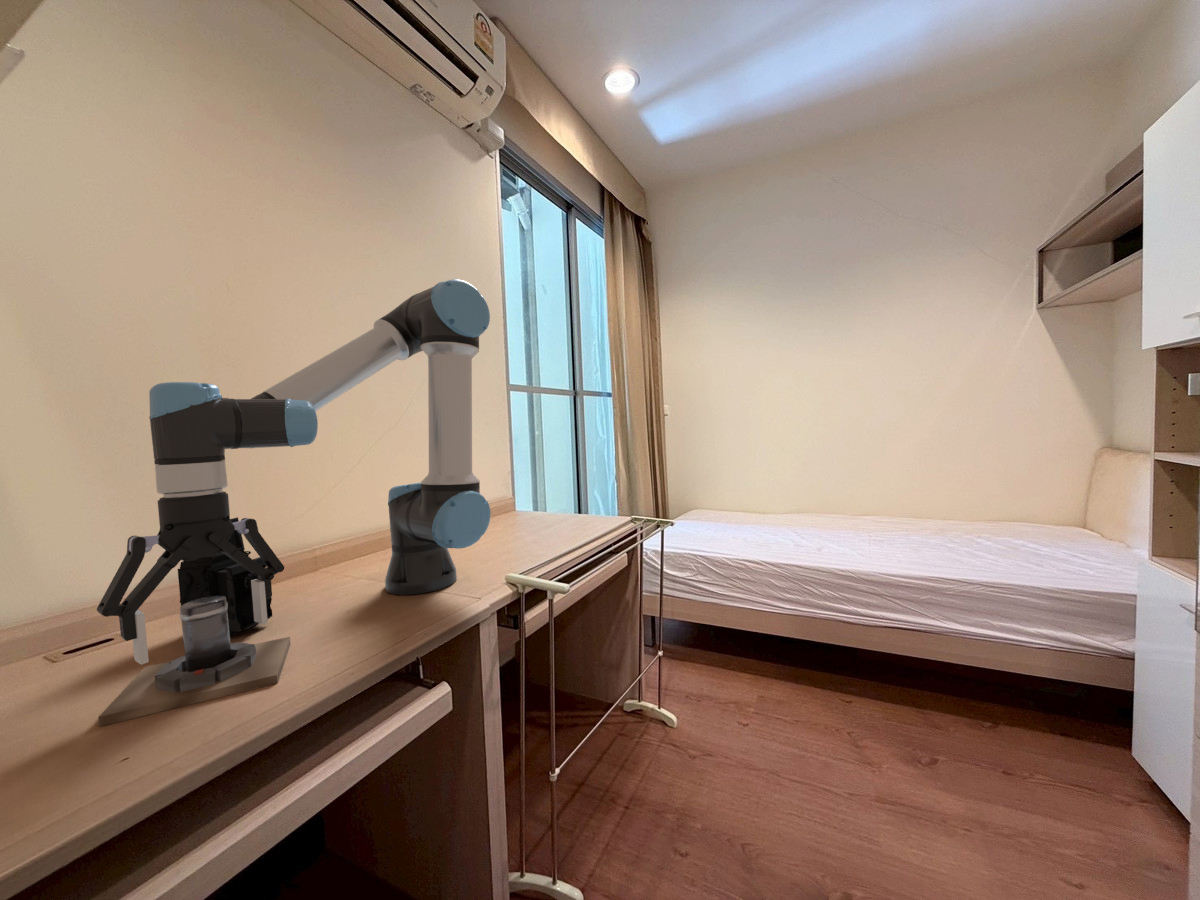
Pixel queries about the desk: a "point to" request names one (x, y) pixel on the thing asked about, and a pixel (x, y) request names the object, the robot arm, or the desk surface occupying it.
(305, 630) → the desk surface
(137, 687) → the mount board
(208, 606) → the lens
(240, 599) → the camera
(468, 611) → the desk surface
